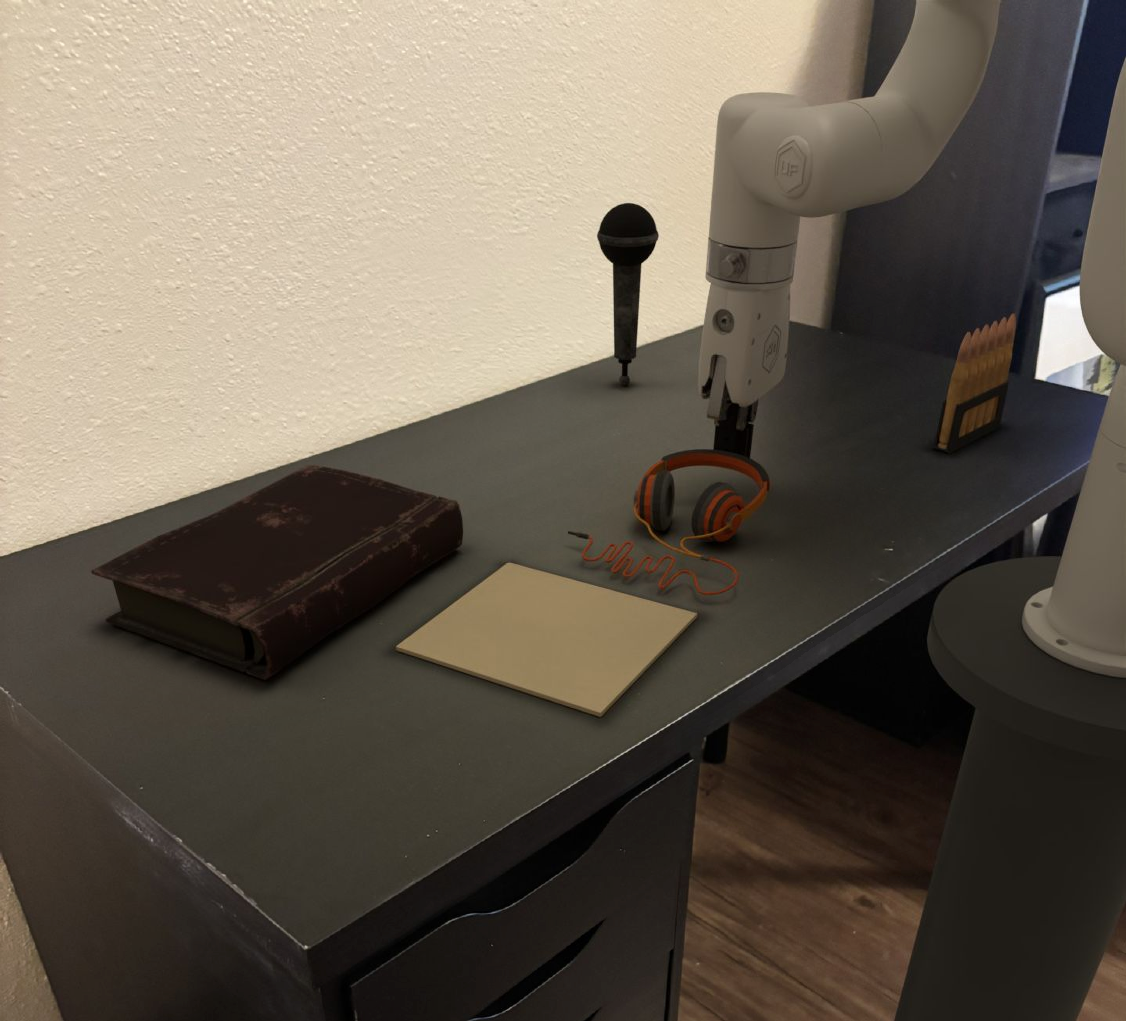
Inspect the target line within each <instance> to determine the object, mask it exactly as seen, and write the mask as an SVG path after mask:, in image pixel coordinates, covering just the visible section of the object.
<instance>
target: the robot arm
mask: <svg viewBox="0 0 1126 1021" xmlns="http://www.w3.org/2000/svg"><path fill="white" fill-rule="evenodd" d="M915 1H916V2H915V11H914V16H913V20H912V22H911V27H910V29H909V32H908V34H907V37H906V39H905V41H904V44H903V46H902V48H901V50H900V52H899V54H898V55H897V57H896V59H895V61H894V63H893V65H892V67H891V68H890V70H889V72H888V74H887V75H886V77H885V79H884V81H883V82H882V84H881V85H880V87H879V88H878V90H877V92H876V93H875V95H874V96H868V97H862V98H856V99H849V100H843V101H837V102H833V103H826V104H819V105H811V106H810V105H809V103H808V102H807V100H805V99H804V98H803V97H801V96H799V95H798V96H797V95H794V94H790V93H783V92H768V91H767V92H766V91H765V92H764V91H763V92H762V91H761V92H760V91H759V92H756V91H755V92H746V93H739V94H735V95H732V96H730V97H728V98H727V99H726V100H725V101H723V103H722V105H721V106H720V109H719V111H718V114H717V122H716V131H715V132H716V133H715V144H714V145H715V146H714V149H715V150H714V160H713V172H712V173H713V175H712V188H711V199H710V200H711V201H710V214H709V228H708V238H707V250H706V251H707V252H706V264H705V276H704V277H705V280H706V281H707V282H708V283H710V284H709V289H708V295H707V301H706V306H705V313H704V318H703V324H702V325H703V326H702V334H701V341H700V351H699V361H698V374H697V375H698V376H697V380H698V381H697V390H698V394H699V396H700V397H701V399H703V400H708V403H707V404H708V405H707V410H706V418H707V419H709V420H713V424H714V436H713V438H714V439H713V447H712V448H713V449H712V450H721V451H727V452H732V453H736V454H739V455H742V456H745V457H748V458H750V459H751V454H752V446H753V436H754V425H755V424H754V422H755V421H756V418H757V413H758V406H759V401H760V400H759V399H761V398H762V397H763V396H764V395H766V394H767V393H768V392H770V391H771V390H772V389H773V388H775V387H776V386H777V385H778V384H780V383H781V381H782V380H783V379H784V376H785V375H786V366H787V357H788V356H787V355H788V346H789V332H790V317H791V284H792V283H793V281H794V276H795V275H794V273H795V267H796V266H795V265H796V258H797V257H796V256H797V250H798V248H797V247H798V239H799V231H800V225H801V224H800V223H801V218H808V219H809V218H812V219H814V218H822V217H827V216H831V215H836V214H840V213H843V212H844V213H845V212H847V211H851V210H853V209H858V208H863V207H867V206H871V205H876V204H880V203H884V202H887V201H888V202H889V201H891V200H894V199H896V198H898V197H900V196H902V195H903V194H905V193H907V192H908V191H909V190H911V189H912V188H913V187H914V186H915V185H916V184H917V183H919V181H921V179H922V178H923V177H924V176H925V175H926V173H927V172H928V171H929V170H930V169H931V167H932V166H933V164H935V162H936V160H937V159H938V158H939V156H940V155H941V153H942V151H943V150H944V149H945V147H946V146H947V144H948V143H949V141H950V139H951V138H952V136H953V135H954V133H955V132H956V130H957V128H958V127H959V126H960V124H961V122H962V121H963V119H964V118H965V116H966V114H967V112H968V111H969V110H970V107H971V106H972V105H973V103H974V100H975V98H976V97H977V94H978V93H979V91H980V88H981V85H982V84H983V81H984V79H985V75H986V72H987V69H988V65H989V61H990V57H991V54H992V50H993V46H994V42H995V39H996V36H997V31H998V23H999V16H1000V14H999V13H1000V6H1001V2H1002V0H915ZM1090 211H1091V212H1090V215H1089V221H1088V225H1087V230H1086V236H1085V241H1084V247H1083V253H1082V259H1081V266H1080V274H1079V289H1078V290H1079V304H1080V311H1081V315H1082V319H1083V323H1084V326H1085V328H1086V330H1087V332H1088V334H1089V336H1090V338H1091V340H1092V341H1093V342H1094V344H1095V345H1096V347H1097V348H1098V349H1099V350H1100V351H1101V353H1103V354H1104V355H1106V356H1107V357H1108V358H1110V360H1113V362H1116V363H1118V364H1119V368H1118V370H1117V373H1116V375H1115V377H1114V381H1113V383H1112V386H1111V388H1110V392H1109V394H1108V398H1107V401H1106V404H1105V407H1104V411H1103V414H1102V418H1101V421H1100V424H1099V427H1098V431H1097V434H1096V437H1095V440H1094V444H1093V447H1092V452H1091V455H1090V457H1089V462H1088V465H1087V468H1086V472H1085V475H1084V479H1083V482H1082V485H1081V489H1080V492H1079V496H1078V500H1077V503H1076V507H1075V509H1074V514H1073V516H1072V520H1071V524H1070V527H1069V531H1068V534H1067V536H1066V541H1065V545H1064V548H1063V551H1062V555H1061V557H1062V558H1061V561H1060V565H1059V568H1058V572H1057V575H1056V579H1055V582H1054V585H1053V587H1051V588H1048V589H1045V590H1042V591H1040V592H1038V593H1037V594H1035V595H1033V596H1032V597H1031V598H1030V599H1029V600H1028V601H1027V603H1026V606H1025V608H1024V612H1023V616H1022V625H1023V629H1024V631H1025V632H1026V634H1027V636H1028V637H1029V638H1030V639H1031V640H1032V641H1033V642H1034V643H1035V644H1036V645H1037V646H1038V647H1039V648H1040V649H1042V650H1043V651H1045V652H1046V653H1047V654H1049V655H1051V656H1052V657H1054V658H1056V659H1058V660H1060V661H1062V662H1064V663H1067V664H1069V665H1071V666H1074V667H1076V668H1079V669H1083V670H1086V671H1089V672H1092V673H1096V674H1101V675H1106V676H1111V677H1118V678H1126V57H1125V58H1124V61H1123V63H1122V67H1121V69H1120V73H1119V76H1118V80H1117V84H1116V88H1115V91H1114V96H1113V102H1112V105H1111V110H1110V115H1109V120H1108V126H1107V131H1106V136H1105V140H1104V145H1103V150H1102V156H1101V160H1100V166H1099V170H1098V175H1097V181H1096V186H1095V190H1094V196H1093V201H1092V206H1091V210H1090Z"/></svg>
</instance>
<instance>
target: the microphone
mask: <svg viewBox="0 0 1126 1021" xmlns="http://www.w3.org/2000/svg"><path fill="white" fill-rule="evenodd" d="M596 238H597V241H598V244H599V248H600V250H601V252H602V254H603V256H604V257H605V258H606V259H607V260H608V261H609V263H611V264H612V289H613V290H612V295H613V298H612V300H613V303H612V304H613V356H614V357H613V358H614V359H617V360H618V361H617V362H618V363H619V364H621V375H620V376H619V378H618V382H619V384H620V386H622V387H626V386H628V385H629V384H630V382H631V378H630V376H629V375H628V374H629V364H632V363H633V359H634V360H635V358H637V350H638V348H637V347H638V331H639V330H638V327H639V313H640V299H641V298H640V296H641V280H642V264H643V263H644V262H646V261H647V260H648V258H650V257H651V255H652V254H653V252H654V250H655V247H656V244H657V241H659V231H658V229H657V224H656V221H655V219H654V217H653V216H652V214H651V213H650V212H649V211H648V210H647V209H646V208H645V207H643V206H641V205H640V204H637V203H633V202H624V203H620V204H617V205H616V206H613V207H612V208H611V209H610V210H609V211H607V212H606V214H605V215H604V217H603V218H602V220H601V221H600V225H599V229H598V231H597V234H596Z"/></svg>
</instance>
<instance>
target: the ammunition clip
mask: <svg viewBox="0 0 1126 1021" xmlns="http://www.w3.org/2000/svg"><path fill="white" fill-rule="evenodd" d="M1016 326H1017V320H1016V314H1015V313H1011V315H1010V316H1009V317H1008V320H1007V318H1006V316H1004V317H1003V318H1002V319H1001V320H1000V322H999V324H998V320H994V321H993V323H992V324H991V326H990V327H989V324H987V323H986V324H985V325H984V327H983V328H982V330H980V328H979V327H977V328H976V329H975V330H974V332H973V334H972V333H971V332H970V331H967V333H965V335H964V337H963V339H962V342H961V344H960V347H959V350H958V353H957V358H956V361H955V364H954V369H953V370H952V374H951V376H950V382H949V387H948V391H947V396H946V399H944V400H943V402H942V406H941V411H940V415H939V420H938V425H937V428H936V432H935V433H936V434H935V438H934V444H933V447H932V448H933V449H935V450H937V451H941V452H943V453H947V454H951V453H953V452H954V451H957V450H958V449H961V448H962V447H964V446H967V445H968V444H971V443H972V442H974V441H976V440H978V439H980V438H981V437H984V436H986V435H987V434H989V433H991V432H993V431H995V430H997V429H999V428H1000V427H1001V423H1002V419H1003V418H1002V417H1003V413H1004V409H1005V404H1006V401H1007V400H1006V399H1007V394H1008V390H1009V387H1010V386H1009V384H1010V380H1008V378H1009V377H1008V376H1009V374H1010V373H1009V371H1010V367H1011V363H1012V360H1013V359H1012V358H1013V347H1014V341H1015V336H1016V328H1017V327H1016Z"/></svg>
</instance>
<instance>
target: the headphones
mask: <svg viewBox="0 0 1126 1021" xmlns="http://www.w3.org/2000/svg"><path fill="white" fill-rule="evenodd" d="M702 466H704V467H717V468H722V469H728V470H731V471H735V472H738V473H740V474H743V475H745V476H747V477H749V478H750V479H751V480H753V481H754V482H755V483H756V484H757V486H758V487H759V490H760V492H759V493H758V494H757V495H756V497H755V498H754V499H752V500H751V501H750V502H749V503H748V504H747V505H746V506H745V503H744V502H745V501H744V499H743V498H742V497H741V495H739V494H738V493H737V492H736V490H735V488H734V486H732V485H730V484H728V483H726V482H723V481H717V482H714V483H712V484H710V485H709V486H708V487H707V488H705V489H704V491H702V493H700V495H699V497H698V498H697V500H696V502H695V504H694V507H693V510H692V514H691V524H690V525H691V531H692V533H693V535H694V536H686V537H683V538H682V539H681V540H680V543H679V546H680V548H681V549H679V548H676V547H674V546H671V545H669V544H668V543H666V542H665V541H663V540H661V539H660V538H659V537H658V536H657V535H656V534H655V533H654V532H653V530H652V528H651V526H652V527H653V528H654V530H655V531H661V532H662V531H664V532H665V531H666V530H667V529H668V528H669V527H670V526H671V522H672V519H673V515H674V506H675V494H676V493H675V480H674V477H673V474H672V472H673V471H676V470H679V469H683V468H688V467H702ZM770 488H771V480H770V476H769V474H768V472H767V470H766V469H765V468H764V467H763V466H762V464H760V463H759V462H758V461H756V460H754V459H753V458H751V457H750V458H748V457H745V456H742V455H739V454H736V453H732V452H727V451H721V450H713V449H711V448H698V449H697V448H694V449H686V450H682V451H676V452H673V453H670V454H669V453H668V454H666V455H664V456H662V458H661V460H659V461H658V462H655V463H654V464H653V465H651V467H650V468H649V469H648V470H647V471H646V472H645V474H644V476H643V477H642V478H641V479H640V482H639V484H638V488H637V490H635V491H634V494H633V497H632V498H633V500H632V503H633V514H634V516H635V517H636V518H637V520H638V521H639V522H641V524H643V525H645V526H646V528H647V529H648V532H649V535H651V536H652V538H654V539H655V540H656V541H657V542H658V543H660V544H661V545H662V546H664V547H666V548H668V549H670V550H672V551H674V552H677V553H679V554H682V555H685V556H689V557H692V558H697V559H700V560H701V561H703V562H709V561H711V562H713V563H717V564H720V565H723V566H724V567H727V568H728V569H730V570H731V571H732V572H733V573H734V581H733V583H732V584H730V585H729V586H727V587H726V588H724V589H721V590H717V591H703V590H702V589H700V587H699V584H698V580H697V576H696V574H695V573H694V572H693V571H691V570H689V569H681V570H679V571H678V572H676V573H675V574H674V575H672V577H670V579H669V580H667V582H666V583H664V584H663V582H664V581H665V579H666V578H667V576H668V575H669V573H670V571H671V569H672V568H673V566H674V564H675V561H676V558H674V557H673V556H672V555H671V554H670V555H669V554H668V555H667V554H666V555H664V556H663V557H661V558H660V559H659V560H658V562H657V563H656V564H655V566H654V567H653V568H652V569H649V568H650V565H651V564H652V561H653V560H654V558H653V556H651V555H647V556H645V557H644V558H642V559H641V561H640V563H639V564H638V565H637V566H636V568H635V569H634V570H633V571H632V572H631V573H630V574H626V573H627V572H628V571H629V569H630V568H631V566H632V563H633V559H632V557H627V556H628V554H629V553H630V552H631V551H632V549H633V547H634V543H633V542H632V541H625V542H624V543H623V544H622V545H621V546H620V548H619V549H618V550H617V548H618V545H617V544H616V543H610V544H609V545H608V546H607V547H606V548H605V549H604V551H603V552H602V553H601V554H600V555H599V556H597V557H595V558H589V557H587V556H586V553H587V551H588V550H589V549H590V548H591V546H592V545H593V543H594V539H593V536H590V535H589V534H587V533H583V532H581V531H577V532H575V531H572V530H571V531H570V530H568V531H567V534H568V535H572V536H575V537H576V538H579V539H585V540H590V542H589V543H588V545H587V546H586V547H585V548H584V549H583V551H582V554H581V558H582V559H583V560H584V561H586V562H596V561H599V560H601V559H602V558H603V557H604V556H605V555H606V554H607V553H608V551H609V550H610V549H611V548H612V547H613V549H612V551H611V552H610V553H609V554H608V555H607V556H606V558H605V562H606V563H611V562H612V561H614V559H616V558H617V557H618V555H619V554H621V553H622V551H623V550H624V548H625V547H626V546H627V545H630V546H629V547H628V549H627V550H626V551H625V553H624V554H623V555H622V556H621V557H620V558H619V559H618V560H617V561H616V563H615V564H614V565H612V567H611V573H613V574H617V573H618V572H620V570H621V568H622V567H623V566H624V564H625V563H627V561H629V562H628V565H627V566H626V567H625V569H624V570H623V571H622V577H624V578H628V579H629V578H632V577H633V576H635V574H636V573H637V572H638V571H639V570H640V568H642V565H643V564H644V563H645V562H646V561H647V560H648V559H649V560H648V562H647V564H646V566H645V571H646V573H648V574H652V573H655V572H656V571H657V569H658V568H659V566H660V565H661V563H662V562H663V561H665V560H666V559H670V560H671V563H670V564H669V566H668V568H667V570H666V571H665V573H664V574H663V576H661V579H660V581H659V583H658V588H659V589H660V590H664V589H665V588H666V587H668V586H669V585H670V584H671V583H672V582H673V581H674V580H675V579H676V578H677V577H679V575H682V574H689V575H691V576H692V578H693V581H694V586H695V588H696V591H697V592H698V593H699V594H701V595H704V596H705V595H706V596H716V595H721V594H724V593H726V592H728V591H730V590H731V589H733V588H734V587H735V586H736V584H737V583H738V580H739V574H738V571H737V570H736V569H735V567H733V566H732V565H731V564H729V563H727V562H725V561H723V560H720V559H716V558H713V557H712V558H711V557H710V556H709V555H706V554H699V553H695V552H694V551H691V550H689V549H687V548H686V547H685V546H684V542H685V541H688V540H700V541H702V542H706V543H712V542H721V543H722V542H725V541H728V540H729V539H730V538H732V536H734V535H735V534H736V532H737V531H738V530H739V528H740V527H741V525H742V523H743V522H744V521H746V520H747V519H748V518H750V517H751V516H752V515H753V514H755V513H756V512H757V511H758V510H759V509H760V508H761V507H762V505H763V504H764V503H765V501H766V499H767V496H768V492H769V491H770ZM616 550H617V551H616ZM614 553H615V554H614ZM617 566H618V567H617ZM662 584H663V585H662Z"/></svg>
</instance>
